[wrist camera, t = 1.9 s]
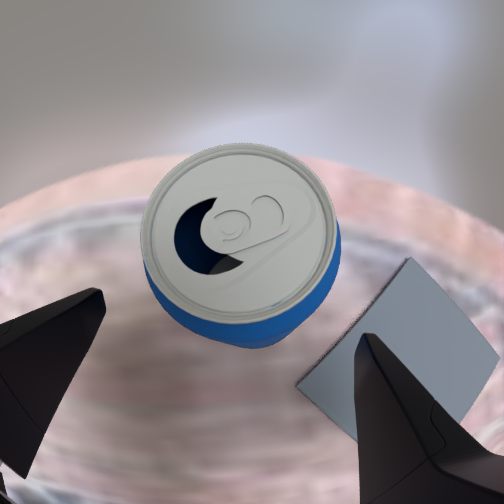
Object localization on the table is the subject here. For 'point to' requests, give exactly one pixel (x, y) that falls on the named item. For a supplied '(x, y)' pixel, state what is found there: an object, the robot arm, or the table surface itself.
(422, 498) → the robot arm
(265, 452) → the table surface
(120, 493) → the table surface
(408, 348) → the mat
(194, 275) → the beverage can
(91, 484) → the table surface
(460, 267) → the table surface
